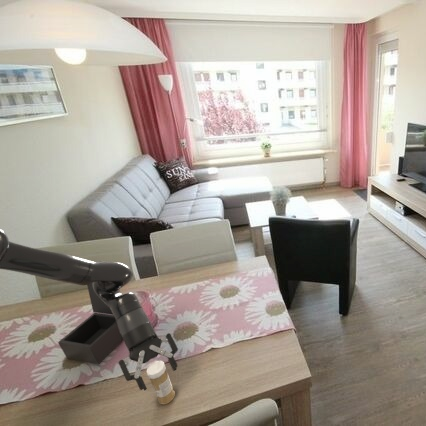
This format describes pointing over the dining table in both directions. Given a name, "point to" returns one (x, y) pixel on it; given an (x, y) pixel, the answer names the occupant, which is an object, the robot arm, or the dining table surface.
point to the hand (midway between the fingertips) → (160, 379)
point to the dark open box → (92, 339)
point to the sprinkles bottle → (160, 382)
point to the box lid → (98, 302)
